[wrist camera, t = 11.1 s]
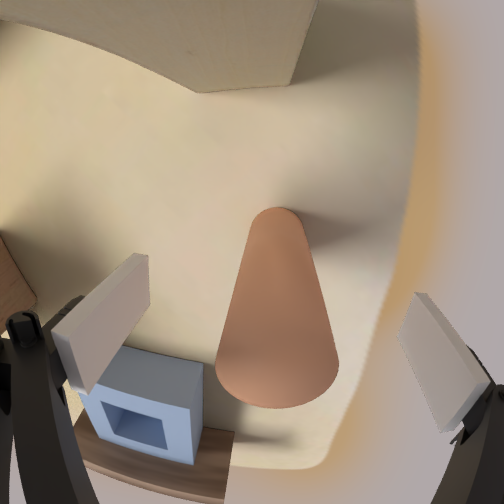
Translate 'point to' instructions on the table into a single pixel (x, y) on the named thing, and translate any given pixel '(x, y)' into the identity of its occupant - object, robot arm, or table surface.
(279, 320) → the dowel
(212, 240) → the table surface
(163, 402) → the socket block
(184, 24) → the toy refrigerator
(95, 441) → the wall
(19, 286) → the wooden block
